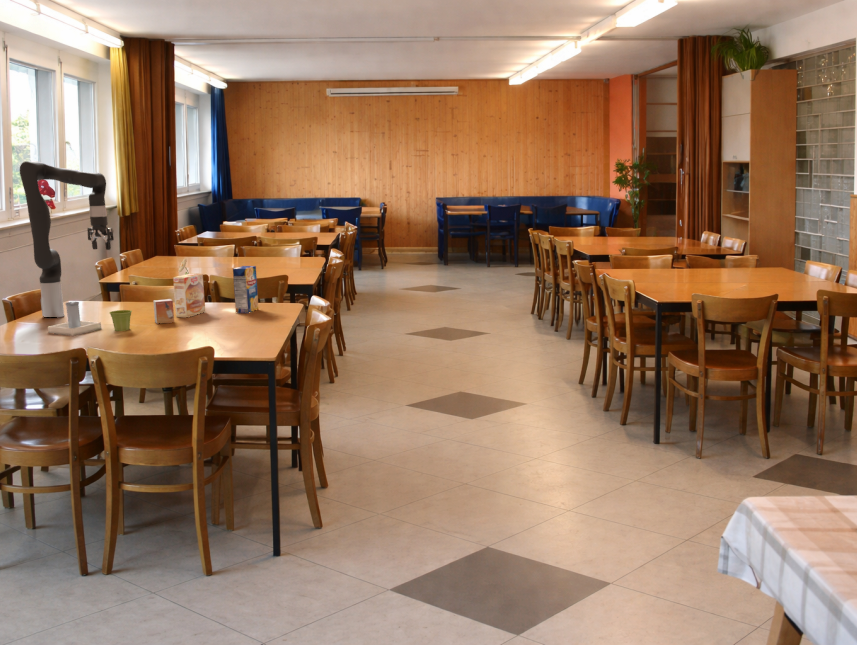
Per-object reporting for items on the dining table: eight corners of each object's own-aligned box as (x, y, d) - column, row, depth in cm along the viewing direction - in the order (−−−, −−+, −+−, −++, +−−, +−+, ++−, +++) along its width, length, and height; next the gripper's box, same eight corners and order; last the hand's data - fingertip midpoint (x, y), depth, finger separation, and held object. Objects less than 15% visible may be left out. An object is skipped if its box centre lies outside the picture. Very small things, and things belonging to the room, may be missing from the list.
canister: (65, 330, 358) (62, 303, 356) (75, 327, 363) (72, 301, 361) (74, 330, 356) (71, 304, 354) (84, 328, 361) (81, 302, 359)
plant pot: (120, 328, 367) (118, 309, 365) (138, 329, 364) (136, 310, 362) (106, 332, 358) (104, 313, 356) (124, 333, 355) (122, 313, 354)
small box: (156, 324, 374) (155, 301, 372) (154, 322, 379) (152, 300, 377) (174, 322, 378) (172, 300, 376) (172, 320, 383) (170, 298, 381)
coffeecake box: (187, 317, 389) (184, 277, 385) (175, 317, 391) (172, 277, 388) (206, 312, 403) (203, 273, 399) (194, 311, 405) (191, 272, 401)
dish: (48, 333, 356) (47, 326, 356) (76, 326, 370) (76, 320, 369) (73, 335, 350) (72, 329, 349) (101, 329, 363) (100, 322, 363)
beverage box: (235, 313, 399) (232, 268, 395) (246, 309, 409) (243, 265, 405) (248, 313, 397) (245, 268, 393) (258, 309, 407) (255, 266, 403)
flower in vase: (181, 303, 430) (177, 256, 425) (203, 302, 431) (199, 256, 426) (176, 307, 417) (172, 259, 412) (198, 307, 418) (195, 258, 413)
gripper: (81, 215, 384) (84, 250, 387) (103, 216, 378) (106, 250, 381) (93, 214, 391) (97, 248, 394) (115, 215, 385) (118, 249, 388)
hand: (101, 249), depth 388 cm, fingers open, 8 cm apart
